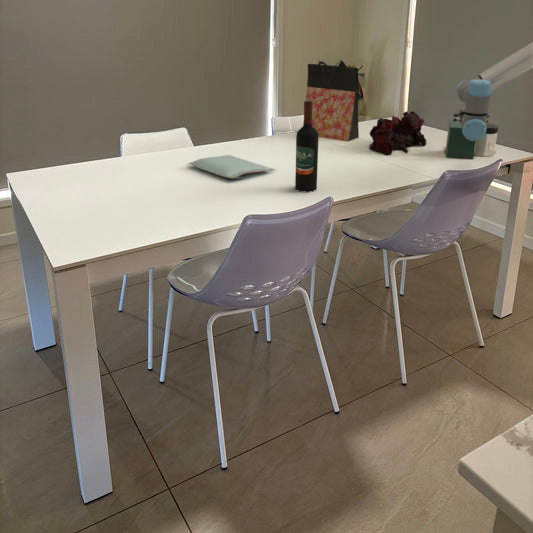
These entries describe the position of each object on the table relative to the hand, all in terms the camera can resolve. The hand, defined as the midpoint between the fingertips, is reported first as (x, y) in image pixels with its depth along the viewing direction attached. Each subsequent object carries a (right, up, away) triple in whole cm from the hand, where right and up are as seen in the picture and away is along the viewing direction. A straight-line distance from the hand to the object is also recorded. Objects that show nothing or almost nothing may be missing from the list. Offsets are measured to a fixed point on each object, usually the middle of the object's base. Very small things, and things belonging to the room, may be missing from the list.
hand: (468, 110), depth 231 cm
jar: (+13, -14, +19) cm, 27 cm away
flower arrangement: (-22, -8, +31) cm, 39 cm away
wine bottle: (-66, -34, -24) cm, 78 cm away
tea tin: (+2, -14, +18) cm, 23 cm away
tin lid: (+2, -3, +14) cm, 14 cm away
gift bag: (-48, 0, +50) cm, 69 cm away
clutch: (-94, -24, -3) cm, 97 cm away
